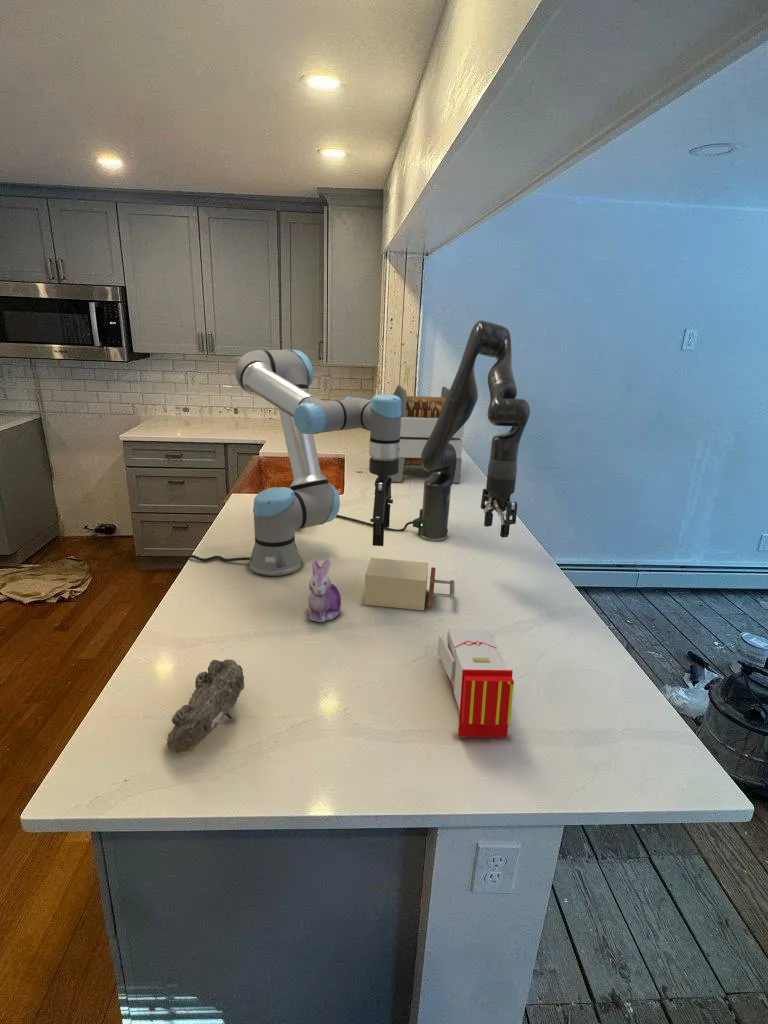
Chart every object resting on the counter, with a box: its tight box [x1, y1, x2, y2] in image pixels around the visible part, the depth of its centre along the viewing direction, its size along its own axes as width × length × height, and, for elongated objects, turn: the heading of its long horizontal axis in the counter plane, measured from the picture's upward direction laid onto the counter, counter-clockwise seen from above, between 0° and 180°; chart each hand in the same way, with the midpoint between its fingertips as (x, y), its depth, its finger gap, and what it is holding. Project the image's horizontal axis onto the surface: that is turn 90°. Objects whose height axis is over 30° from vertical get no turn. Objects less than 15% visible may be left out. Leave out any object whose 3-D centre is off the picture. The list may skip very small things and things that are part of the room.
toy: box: [437, 628, 515, 738], centre depth 117 cm, size 12×13×30 cm
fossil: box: [166, 658, 245, 754], centre depth 106 cm, size 22×10×15 cm
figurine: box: [308, 558, 342, 623], centre depth 143 cm, size 9×10×15 cm
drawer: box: [427, 566, 456, 608], centre depth 154 cm, size 20×10×7 cm, turn 83°
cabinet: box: [363, 557, 429, 611], centre depth 154 cm, size 16×11×9 cm
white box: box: [391, 384, 465, 484], centre depth 268 cm, size 34×33×41 cm
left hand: (381, 535), depth 150 cm, fingers open, 13 cm apart
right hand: (495, 531), depth 156 cm, fingers open, 8 cm apart
